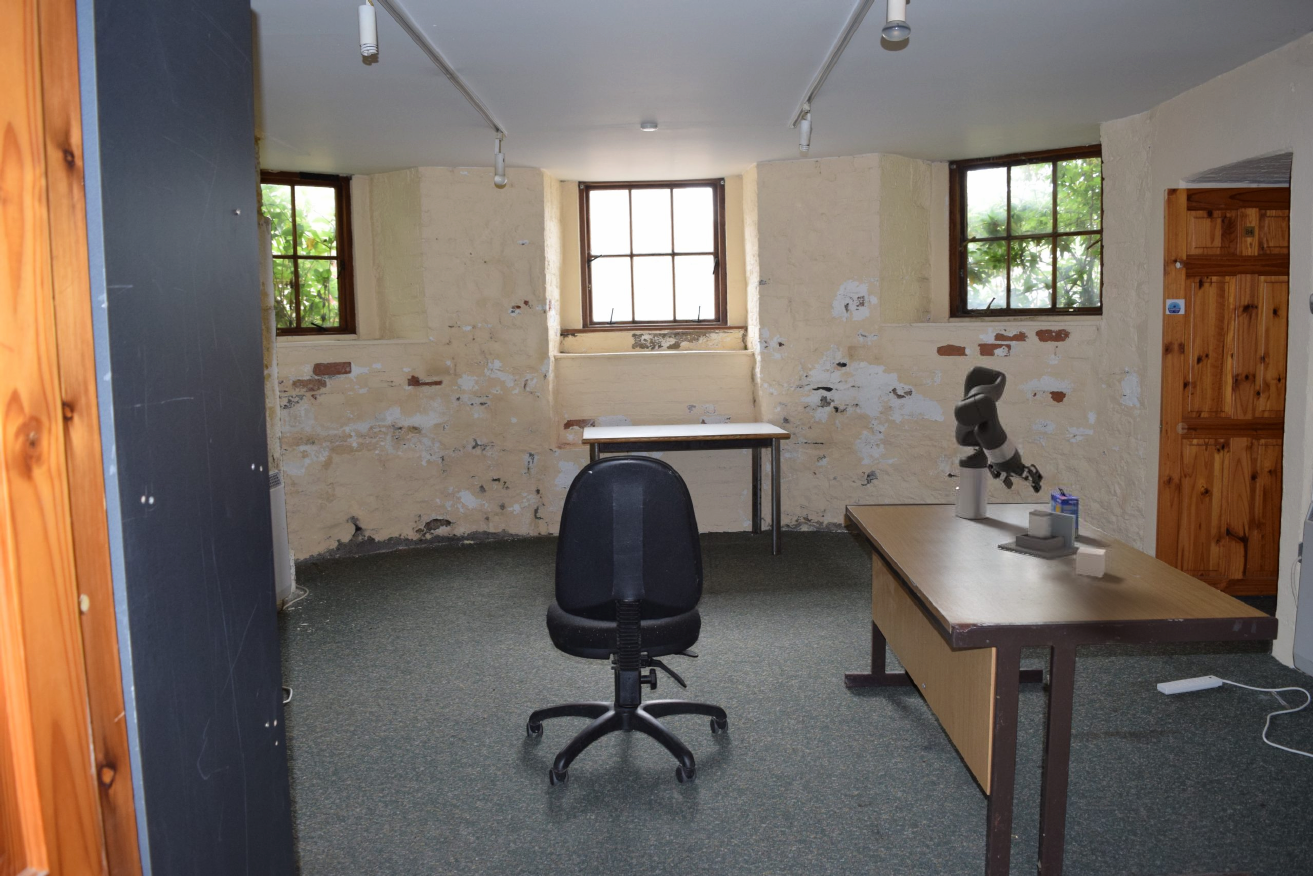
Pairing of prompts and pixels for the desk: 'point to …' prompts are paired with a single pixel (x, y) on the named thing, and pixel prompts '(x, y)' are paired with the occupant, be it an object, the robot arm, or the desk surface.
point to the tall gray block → (1040, 525)
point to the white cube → (1090, 561)
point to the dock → (1052, 548)
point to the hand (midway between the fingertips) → (1024, 488)
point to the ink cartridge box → (1066, 506)
